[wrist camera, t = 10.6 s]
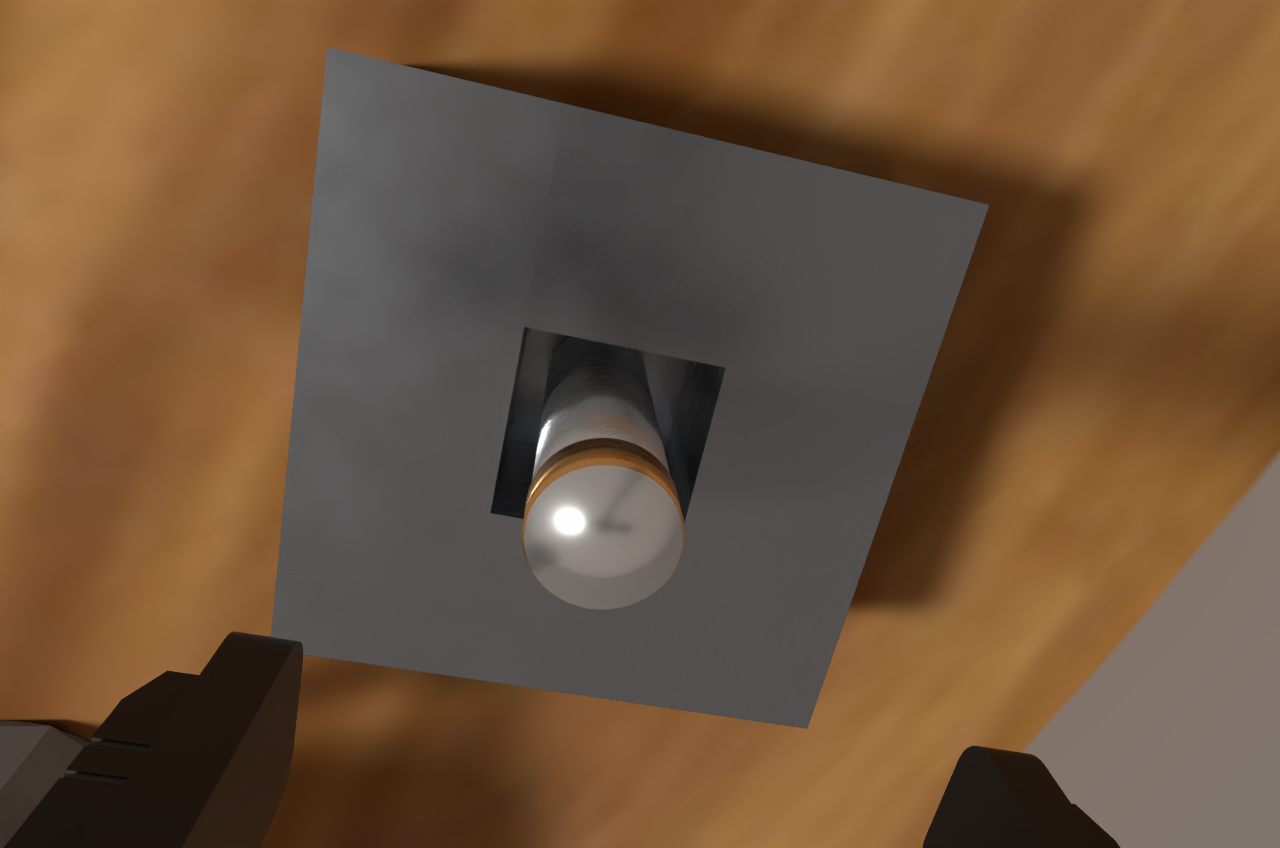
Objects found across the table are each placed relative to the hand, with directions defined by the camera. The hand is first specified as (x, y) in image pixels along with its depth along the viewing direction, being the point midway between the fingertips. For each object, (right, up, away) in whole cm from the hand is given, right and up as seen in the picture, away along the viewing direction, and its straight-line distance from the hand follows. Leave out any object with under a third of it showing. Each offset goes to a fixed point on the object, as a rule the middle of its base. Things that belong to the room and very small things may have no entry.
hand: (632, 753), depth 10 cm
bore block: (-1, +6, +15) cm, 16 cm away
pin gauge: (-1, +5, +14) cm, 15 cm away
